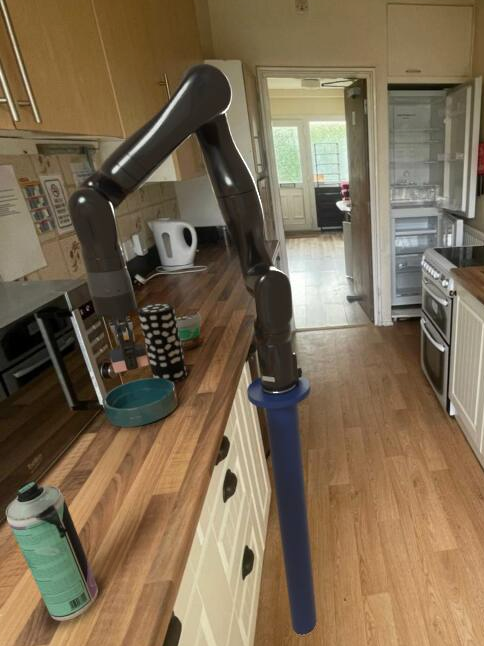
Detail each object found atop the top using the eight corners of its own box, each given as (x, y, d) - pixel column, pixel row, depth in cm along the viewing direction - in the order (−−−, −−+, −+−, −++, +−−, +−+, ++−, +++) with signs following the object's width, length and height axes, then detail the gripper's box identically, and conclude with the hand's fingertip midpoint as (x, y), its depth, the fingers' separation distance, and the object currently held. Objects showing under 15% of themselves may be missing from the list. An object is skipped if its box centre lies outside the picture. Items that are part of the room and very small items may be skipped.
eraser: (145, 359, 97) (141, 343, 96) (148, 365, 94) (145, 348, 93) (112, 366, 93) (108, 350, 92) (115, 373, 91) (110, 356, 89)
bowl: (170, 389, 111) (166, 372, 109) (184, 414, 100) (180, 396, 98) (104, 407, 103) (99, 389, 101) (112, 437, 92) (106, 417, 90)
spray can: (107, 583, 61) (66, 470, 53) (80, 621, 56) (31, 503, 48) (69, 581, 61) (23, 469, 53) (39, 620, 56) (-16, 502, 48)
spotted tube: (188, 368, 123) (176, 301, 115) (184, 381, 115) (170, 311, 107) (157, 371, 121) (142, 304, 113) (150, 385, 113) (133, 314, 105)
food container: (171, 355, 130) (164, 325, 126) (164, 349, 134) (158, 319, 131) (211, 344, 138) (206, 315, 134) (203, 339, 142) (198, 310, 138)
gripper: (138, 295, 84) (156, 372, 91) (127, 279, 95) (143, 350, 101) (93, 302, 80) (116, 382, 87) (87, 285, 90) (107, 358, 97)
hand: (130, 364), depth 94 cm, fingers closed on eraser, 3 cm apart
